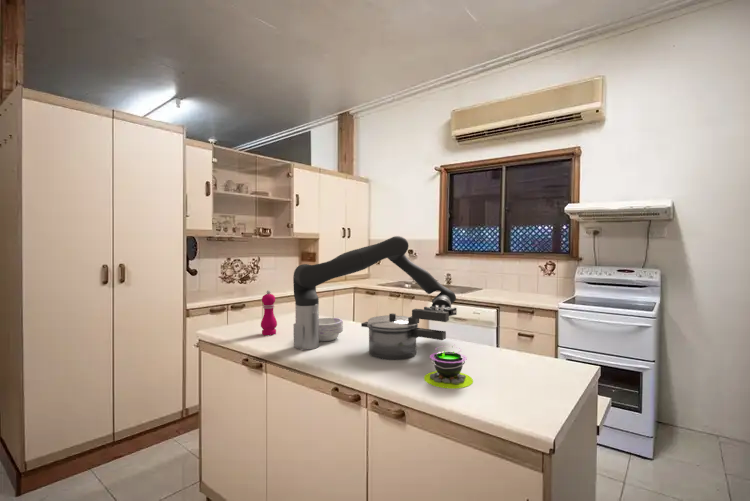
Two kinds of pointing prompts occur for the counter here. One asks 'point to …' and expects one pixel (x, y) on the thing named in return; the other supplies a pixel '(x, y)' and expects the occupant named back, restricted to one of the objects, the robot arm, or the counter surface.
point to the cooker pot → (398, 341)
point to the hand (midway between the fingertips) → (438, 315)
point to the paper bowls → (329, 328)
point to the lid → (407, 319)
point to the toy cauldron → (448, 371)
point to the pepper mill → (268, 315)
